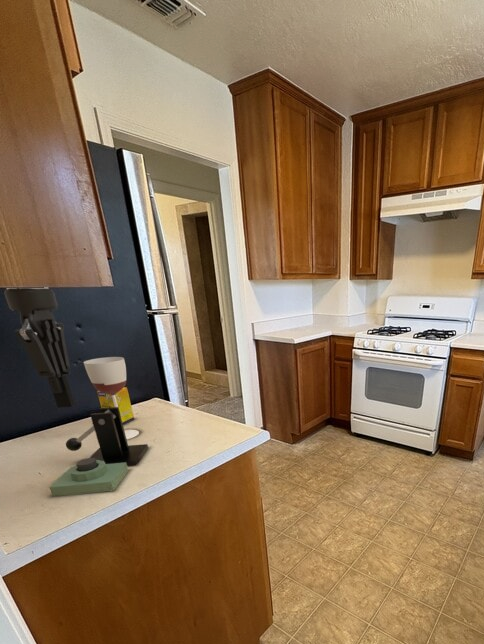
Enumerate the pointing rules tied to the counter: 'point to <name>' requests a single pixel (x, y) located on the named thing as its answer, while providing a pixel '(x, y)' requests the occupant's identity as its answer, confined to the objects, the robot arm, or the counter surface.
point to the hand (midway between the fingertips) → (66, 405)
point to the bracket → (114, 439)
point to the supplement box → (122, 403)
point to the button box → (89, 479)
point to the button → (86, 464)
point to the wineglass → (109, 379)
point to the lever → (80, 438)
